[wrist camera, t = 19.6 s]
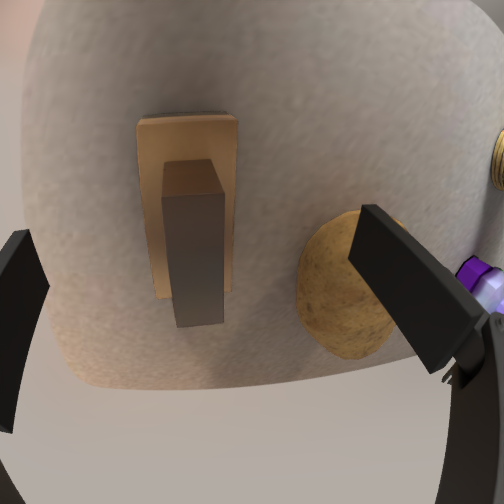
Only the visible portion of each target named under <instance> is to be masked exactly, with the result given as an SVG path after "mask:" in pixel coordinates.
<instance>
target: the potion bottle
mask: <svg viewBox="0 0 504 504" xmlns="http://www.w3.org/2000/svg"><path fill="white" fill-rule="evenodd" d="M455 277H456V278H457V280H459V281H460V282H461V283H462V284H463V285H464V286H463V287H464V288H466V289H467V290H468V291H469V292H470V293H471V294H472V295H473V296H474V297H475V299H476V300H477V301H478V302H479V303H480V304H481V305H482V306H483V308H484V309H485V310H486V311H487V312H488V313H489V314H490V315H491V313H493V312H500V313H502V314H504V272H503V270H502V269H500V268H498V267H494V268H493V267H491V266H490V265H488V264H486V263H484V262H483V261H481V260H479V259H478V257H477V256H475V255H473V256H471V257H470V258H469V259H467V260H466V261H465V262H464V263H463V264H462V266H461V267H460V269H459V270H458V272H457V273H456V275H455Z"/></svg>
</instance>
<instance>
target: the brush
mask: <svg viewBox="0 0 504 504" xmlns="http://www.w3.org/2000/svg"><path fill="white" fill-rule="evenodd" d="M237 133H238V120H237V119H236V118H234V117H233V116H232V115H230V114H229V113H227V112H186V113H168V114H155V115H144V116H143V117H142V118H141V120H140V121H139V122H138V124H137V125H136V135H137V152H138V166H139V178H140V188H141V198H142V207H143V215H144V223H145V231H146V238H147V245H148V252H149V258H150V264H151V270H152V276H153V282H154V287H155V293H156V298H157V299H165V298H172V300H173V307H174V313H175V319H176V325H177V328H184V327H194V326H203V325H212V324H221V323H224V293H225V292H231V291H232V260H233V229H234V201H235V177H236V154H237Z"/></svg>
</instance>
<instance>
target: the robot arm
mask: <svg viewBox="0 0 504 504" xmlns="http://www.w3.org/2000/svg"><path fill="white" fill-rule="evenodd" d="M348 260H349V261H350V263H351V264H352V265H353V267H354V268H355V269H356V270H357V272H358V273H359V274H360V276H361V277H362V278H363V280H364V281H365V282H366V284H367V285H368V286H369V288H370V289H371V290H372V292H373V293H374V294H375V296H376V297H377V298H378V300H379V301H380V302H381V304H382V305H383V307H384V308H385V309H386V311H387V312H388V313H389V315H390V316H391V318H392V319H393V320H394V322H395V323H396V325H397V326H398V328H399V329H400V330H401V332H402V333H403V335H404V336H405V338H406V339H407V341H408V342H409V343H410V345H411V346H412V348H413V349H414V351H415V352H416V354H417V355H418V357H419V358H420V360H421V361H422V363H423V364H424V366H425V367H426V369H427V371H428V372H429V374H432V373H434V372H436V371H438V370H440V369H442V368H444V367H445V366H446V364H447V363H448V362H449V361H450V359H451V358H452V357H454V358H455V360H456V362H455V363H454V365H453V366H452V367H451V368H450V370H449V371H448V372H447V373H446V374H445V375H444V376H443V378H442V382H443V383H444V382H445V381H446V380H447V379H448V378H449V376H450V375H452V378H451V379H450V380H449V381H448V383H447V384H450V385H452V391H451V407H450V419H449V429H448V438H447V445H446V452H445V458H444V464H443V469H442V475H441V480H440V484H439V489H438V493H437V497H436V501H435V504H504V314H502V313H500V312H493V313H491V315H490V314H489V313H488V312H487V311H486V310H485V309H484V308H483V306H482V305H481V304H480V303H479V302H478V301H477V300H476V299H475V297H474V296H473V295H472V294H471V293H470V292H469V291H468V290H467V289H466V288H464V287H463V286H464V285H463V284H462V283H461V282H460V281H459V280H457V278H456V277H455V276H454V275H453V274H452V273H451V272H450V271H449V270H448V269H447V268H445V267H444V266H443V265H442V264H441V263H440V262H439V261H438V260H437V259H436V258H435V257H434V256H432V255H431V254H430V253H429V252H428V251H427V250H426V249H425V248H424V247H423V246H422V245H421V244H420V243H419V242H418V241H417V240H416V239H415V238H414V237H413V236H411V235H410V234H409V233H408V232H407V231H406V230H405V229H404V228H403V227H402V226H400V225H399V224H398V223H397V222H396V221H395V220H394V219H393V218H391V217H390V216H389V215H388V214H387V213H386V212H385V211H383V210H382V209H381V208H380V207H379V206H378V205H376V204H366V205H362V207H361V211H360V215H359V219H358V222H357V226H356V230H355V234H354V237H353V241H352V245H351V248H350V252H349V255H348ZM49 287H50V285H49V283H48V281H47V278H46V276H45V273H44V271H43V268H42V265H41V263H40V260H39V257H38V254H37V252H36V249H35V246H34V243H33V240H32V237H31V234H30V231H29V229H26V230H19V231H14V232H13V233H12V235H11V236H10V238H9V239H8V241H7V242H6V243H5V245H4V246H3V248H2V249H1V251H0V431H1V432H6V433H11V434H12V433H13V425H14V417H15V412H16V406H17V400H18V394H19V389H20V384H21V380H22V376H23V371H24V367H25V362H26V359H27V355H28V351H29V348H30V344H31V341H32V337H33V334H34V331H35V327H36V324H37V321H38V318H39V315H40V312H41V309H42V306H43V303H44V300H45V298H46V295H47V292H48V290H49ZM0 504H26V503H25V502H24V500H23V499H22V497H21V495H20V494H19V492H18V490H17V489H16V487H15V485H14V484H13V483H12V481H11V479H10V477H9V475H8V473H7V471H6V470H5V468H4V466H3V464H2V462H1V460H0Z"/></svg>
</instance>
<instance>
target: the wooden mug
mask: <svg viewBox="0 0 504 504" xmlns="http://www.w3.org/2000/svg"><path fill="white" fill-rule="evenodd" d="M491 170H492V180H493V184H494V185H495V187H496V188H497V189H499V190H501V191H504V129H503V130H502V132H501V134H500V136H499V138H498V140H497V143H496V146H495V149H494V154H493V159H492V168H491Z"/></svg>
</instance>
